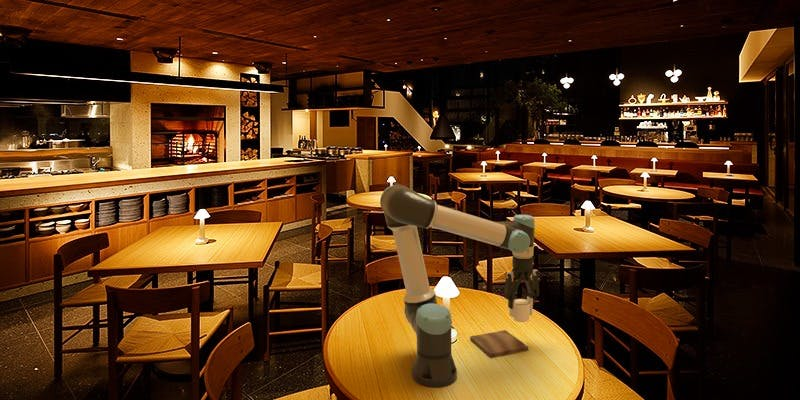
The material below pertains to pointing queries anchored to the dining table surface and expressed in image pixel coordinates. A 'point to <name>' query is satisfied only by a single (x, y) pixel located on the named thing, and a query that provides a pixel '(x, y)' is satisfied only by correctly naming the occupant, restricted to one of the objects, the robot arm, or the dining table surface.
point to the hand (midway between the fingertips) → (520, 315)
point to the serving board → (498, 343)
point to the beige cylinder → (522, 310)
